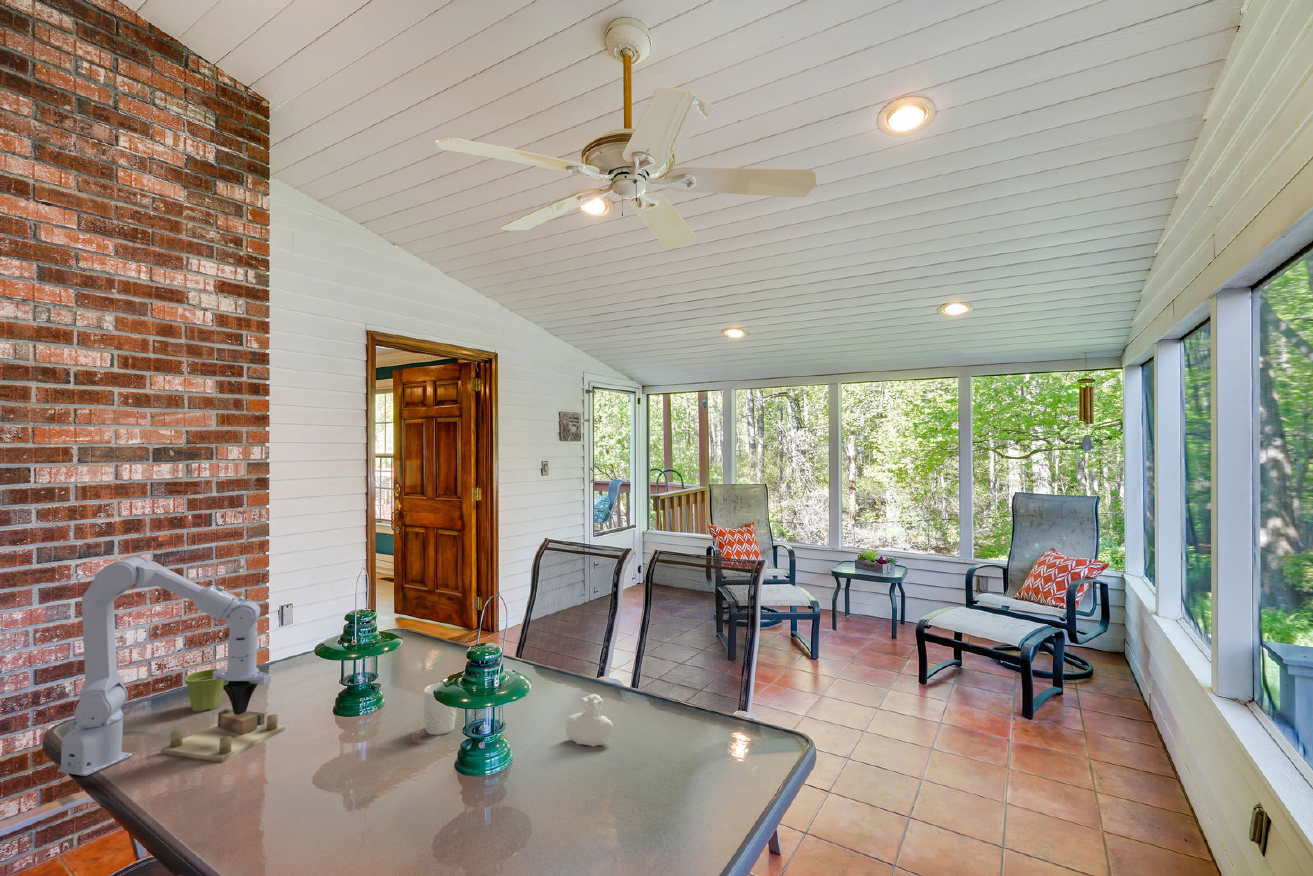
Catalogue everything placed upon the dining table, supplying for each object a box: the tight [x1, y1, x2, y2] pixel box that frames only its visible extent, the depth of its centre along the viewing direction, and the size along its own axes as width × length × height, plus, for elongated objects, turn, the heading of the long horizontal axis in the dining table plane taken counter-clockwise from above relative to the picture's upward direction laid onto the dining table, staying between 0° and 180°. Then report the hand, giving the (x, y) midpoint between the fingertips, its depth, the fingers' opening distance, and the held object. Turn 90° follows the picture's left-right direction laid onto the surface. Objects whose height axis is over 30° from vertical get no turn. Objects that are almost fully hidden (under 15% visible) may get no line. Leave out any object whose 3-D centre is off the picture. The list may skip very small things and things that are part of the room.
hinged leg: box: [217, 708, 257, 734], centre depth 151 cm, size 11×4×4 cm, turn 67°
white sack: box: [565, 693, 614, 748], centre depth 149 cm, size 12×8×11 cm
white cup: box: [423, 682, 457, 736], centre depth 154 cm, size 8×8×10 cm
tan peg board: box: [160, 710, 286, 763], centre depth 146 cm, size 17×17×4 cm
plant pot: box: [184, 668, 226, 712], centre depth 166 cm, size 9×9×9 cm
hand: (240, 713), depth 146 cm, fingers closed
